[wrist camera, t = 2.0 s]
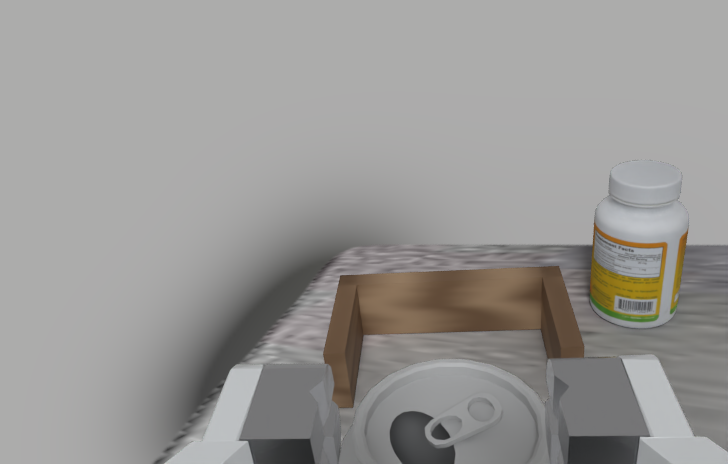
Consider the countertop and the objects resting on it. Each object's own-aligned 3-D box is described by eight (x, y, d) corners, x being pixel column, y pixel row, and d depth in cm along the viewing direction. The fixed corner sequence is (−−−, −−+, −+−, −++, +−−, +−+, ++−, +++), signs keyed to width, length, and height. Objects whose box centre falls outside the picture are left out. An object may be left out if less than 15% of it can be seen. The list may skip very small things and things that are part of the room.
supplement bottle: (634, 275, 47) (647, 147, 42) (695, 314, 42) (717, 176, 38) (572, 298, 45) (578, 168, 41) (628, 341, 41) (643, 200, 36)
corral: (556, 317, 44) (558, 266, 42) (580, 403, 37) (584, 346, 35) (347, 324, 46) (340, 275, 44) (332, 407, 39) (323, 354, 37)
